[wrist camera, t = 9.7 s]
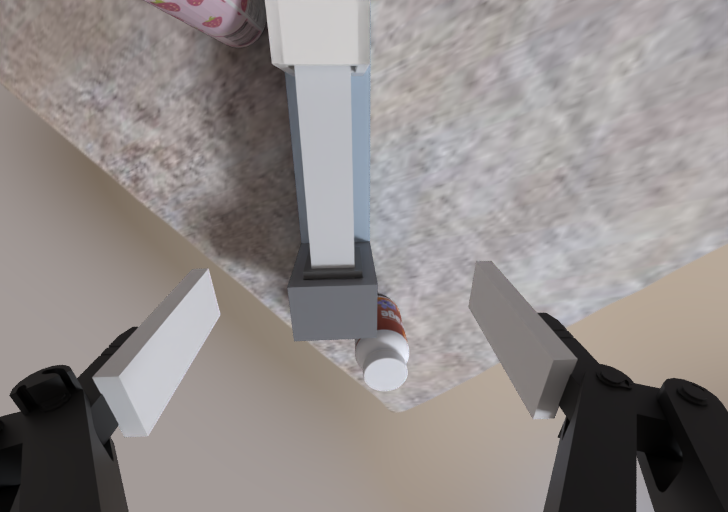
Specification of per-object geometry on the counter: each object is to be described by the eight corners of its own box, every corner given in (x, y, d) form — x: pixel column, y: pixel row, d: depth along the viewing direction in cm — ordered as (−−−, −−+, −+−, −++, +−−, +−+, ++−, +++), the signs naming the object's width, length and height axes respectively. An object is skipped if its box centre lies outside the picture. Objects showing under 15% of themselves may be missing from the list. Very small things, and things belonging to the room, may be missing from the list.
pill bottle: (407, 314, 43) (426, 377, 33) (372, 338, 45) (380, 405, 35) (380, 285, 41) (391, 342, 31) (344, 311, 42) (344, 374, 32)
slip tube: (290, 30, 25) (277, 13, 20) (357, 31, 26) (360, 13, 21) (312, 287, 36) (307, 316, 31) (360, 286, 36) (362, 314, 31)
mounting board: (275, -46, 27) (272, -51, 26) (369, -44, 27) (370, -49, 26) (306, 283, 40) (305, 287, 39) (369, 281, 41) (369, 285, 40)
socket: (301, 243, 37) (287, 287, 28) (369, 241, 37) (377, 284, 28) (305, 287, 39) (294, 341, 30) (369, 285, 40) (376, 337, 31)
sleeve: (281, -51, 26) (250, -127, 17) (362, -49, 26) (370, -123, 18) (292, 76, 30) (272, 64, 21) (362, 76, 30) (370, 64, 21)
